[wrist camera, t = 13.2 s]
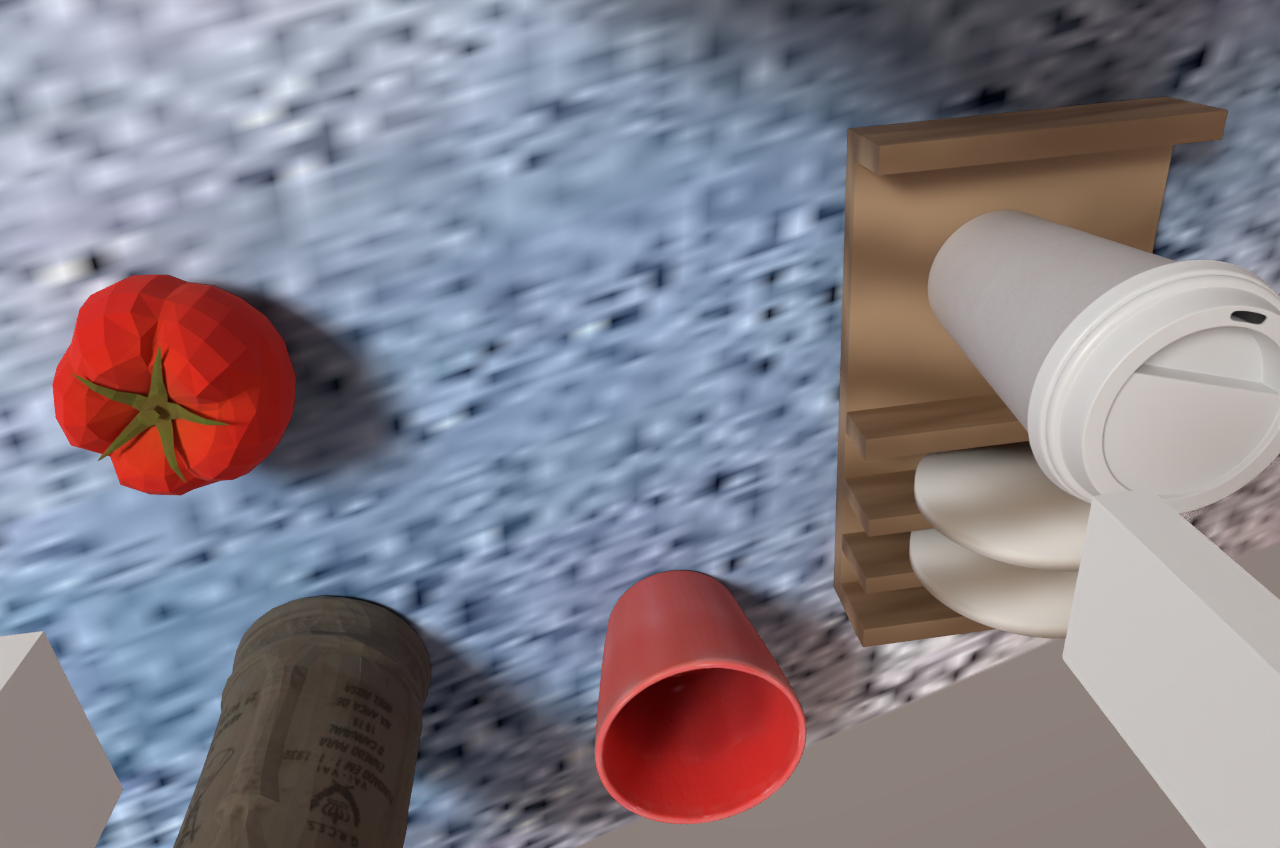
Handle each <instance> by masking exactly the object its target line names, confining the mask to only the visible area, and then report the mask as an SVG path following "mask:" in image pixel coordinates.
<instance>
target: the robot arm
mask: <svg viewBox="0 0 1280 848" xmlns="http://www.w3.org/2000/svg"><path fill="white" fill-rule="evenodd" d="M1062 658H1063V660H1064V661H1065V662H1066V663H1067V665H1068V666H1069V668H1070V669H1071V670H1072V672H1073V673H1074V674H1075V676H1076V677H1077V678H1078V679H1079V681H1080V682H1081V683H1082V685H1083V686H1084V687H1085V689H1086V690H1087V691H1088V693H1089V694H1090V695H1091V696H1092V698H1093V699H1094V700H1095V702H1096V703H1097V704H1098V706H1099V707H1100V708H1101V710H1102V711H1103V712H1104V714H1105V715H1106V716H1107V718H1108V719H1109V720H1110V721H1111V723H1112V724H1113V725H1114V727H1115V728H1116V729H1117V731H1118V732H1119V733H1120V735H1121V736H1122V737H1123V738H1124V740H1125V741H1126V742H1127V744H1128V745H1129V746H1130V748H1131V749H1132V750H1133V752H1134V753H1135V754H1136V756H1137V757H1138V758H1139V759H1140V761H1141V762H1142V764H1143V765H1144V766H1145V767H1146V769H1147V770H1148V771H1149V773H1150V774H1151V775H1152V776H1153V778H1154V779H1155V780H1156V782H1157V783H1158V785H1159V786H1160V787H1161V788H1162V790H1163V791H1164V792H1165V794H1166V795H1167V796H1168V798H1169V799H1170V800H1171V802H1172V803H1173V804H1174V806H1175V807H1176V808H1177V809H1178V811H1179V812H1180V813H1181V815H1182V816H1183V817H1184V819H1185V820H1186V821H1187V823H1188V824H1189V825H1190V827H1191V828H1192V829H1193V830H1194V832H1195V833H1196V834H1197V836H1198V837H1199V838H1200V840H1201V841H1202V842H1203V844H1204V845H1205V846H1206V847H1207V848H1280V600H1279V599H1278V598H1277V597H1276V596H1275V595H1273V594H1272V593H1271V592H1270V591H1268V589H1266V588H1265V587H1264V586H1263V585H1262V584H1261V583H1259V582H1258V581H1257V580H1256V579H1255V578H1253V577H1252V576H1251V575H1250V574H1249V573H1248V572H1247V571H1245V570H1244V569H1243V568H1242V567H1241V566H1239V565H1238V564H1237V563H1236V562H1235V561H1234V560H1233V559H1231V558H1230V557H1229V556H1228V555H1227V554H1225V553H1224V552H1223V551H1222V550H1221V549H1220V548H1218V547H1217V546H1216V545H1215V544H1214V543H1213V542H1211V541H1210V540H1209V539H1208V538H1207V537H1206V536H1204V535H1203V534H1202V533H1201V532H1200V531H1199V530H1197V529H1196V528H1195V527H1194V526H1193V525H1192V524H1190V523H1189V522H1188V521H1187V520H1186V519H1185V518H1183V517H1182V516H1181V515H1180V514H1179V513H1178V512H1176V511H1175V510H1174V509H1173V508H1172V507H1171V506H1169V505H1168V504H1167V503H1166V502H1165V501H1164V500H1162V499H1161V498H1160V497H1159V496H1158V495H1157V494H1155V493H1154V492H1153V491H1152V490H1151V489H1143V490H1135V491H1128V492H1120V493H1112V494H1104V495H1096V496H1093V498H1092V503H1091V508H1090V514H1089V519H1088V524H1087V530H1086V535H1085V540H1084V545H1083V551H1082V556H1081V561H1080V567H1079V572H1078V577H1077V582H1076V588H1075V593H1074V598H1073V603H1072V609H1071V614H1070V619H1069V625H1068V630H1067V635H1066V641H1065V646H1064V651H1063V656H1062ZM122 791H123V788H122V786H121V784H120V782H119V780H118V778H117V776H116V774H115V772H114V770H113V768H112V766H111V764H110V762H109V760H108V758H107V756H106V754H105V752H104V750H103V748H102V746H101V744H100V742H99V740H98V738H97V736H96V734H95V732H94V730H93V729H92V727H91V725H90V723H89V721H88V719H87V717H86V715H85V713H84V711H83V709H82V707H81V705H80V703H79V701H78V699H77V697H76V695H75V693H74V691H73V689H72V687H71V685H70V683H69V681H68V679H67V677H66V675H65V673H64V671H63V669H62V667H61V665H60V663H59V661H58V659H57V657H56V655H55V653H54V651H53V649H52V647H51V645H50V643H49V641H48V639H47V637H46V635H45V633H44V631H41V632H33V633H26V634H18V635H10V636H2V637H0V848H95V846H96V844H97V842H98V840H99V838H100V836H101V834H102V832H103V830H104V828H105V826H106V824H107V822H108V819H109V817H110V815H111V813H112V811H113V809H114V807H115V805H116V803H117V801H118V799H119V797H120V795H121V793H122Z"/></svg>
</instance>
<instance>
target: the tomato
mask: <svg viewBox="0 0 1280 848" xmlns="http://www.w3.org/2000/svg"><path fill="white" fill-rule="evenodd" d="M295 389H296V375H295V372H294V369H293V366H292V363H291V360H290V357H289V354H288V351H287V348H286V344H285V341H284V339H283V338H282V337H281V335H280V334H279V333H278V331H277V330H276V329H275V327H274V326H273V325H272V323H271V322H270V321H269V319H268V318H267V317H266V316H265V315H264V314H262V313H261V312H259V311H258V310H257V309H255V308H254V307H253V306H251V305H250V304H249V303H247V302H246V301H244V300H243V299H242V298H240V297H238V296H236V295H234V294H231V293H229V292H227V291H225V290H222V289H220V288H218V287H216V286H212V285H206V284H199V283H190V282H186V281H183V280H181V279H178V278H176V277H173V276H170V275H133V276H130V277H128V278H126V279H124V280H121V281H119V282H117V283H115V284H113V285H111V286H109V287H107V288H105V289H103V290H100V291H98V292H96V293H94V294H92V295H90V296H89V298H88V299H87V300H86V302H85V303H84V304H83V306H82V307H81V308H80V310H79V314H78V318H77V322H76V326H75V330H74V335H73V339H72V343H71V344H70V346H69V348H68V349H67V351H66V353H65V354H64V356H63V358H62V359H61V361H60V363H59V364H58V366H57V369H56V373H55V377H54V381H53V395H54V405H55V415H56V419H57V421H58V423H59V424H60V426H61V428H62V430H63V432H64V433H65V435H66V437H67V439H68V441H69V443H70V444H71V445H72V446H75V447H79V448H82V449H86V450H90V451H93V452H97V453H100V454H102V456H101V457H100V458H99V460H101V459H102V458H104V457H106V456H110V457H111V460H112V463H113V465H114V468H115V471H116V474H117V476H118V479H119V482H120V485H123V486H126V487H129V488H132V489H135V490H139V491H142V492H145V493H148V494H156V495H183V494H185V493H187V492H189V491H191V490H193V489H196V488H199V487H202V486H205V485H209V484H212V483H215V482H218V481H222V480H234V479H236V478H238V477H240V476H243V475H245V474H247V473H249V472H250V471H252V470H253V469H254V468H255V467H256V466H257V465H258V464H259V463H261V462H262V461H263V460H264V459H265V458H266V457H267V456H268V455H269V454H270V453H271V452H272V451H273V450H274V448H275V447H276V446H277V445H278V444H279V442H280V440H281V438H282V436H283V434H284V432H285V430H286V428H287V426H288V424H289V422H290V420H291V416H292V413H293V409H294V405H295ZM99 460H98V461H99Z"/></svg>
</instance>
